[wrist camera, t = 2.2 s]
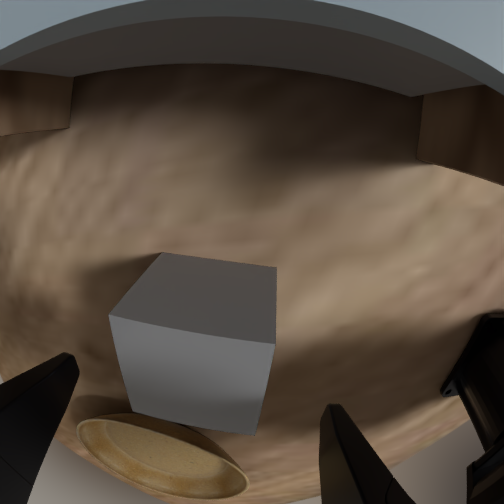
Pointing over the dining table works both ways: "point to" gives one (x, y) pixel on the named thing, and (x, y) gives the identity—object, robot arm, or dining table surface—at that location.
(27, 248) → the dining table surface
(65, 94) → the frame
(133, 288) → the grey cube
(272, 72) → the dining table surface
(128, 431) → the plant saucer
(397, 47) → the trapdoor
